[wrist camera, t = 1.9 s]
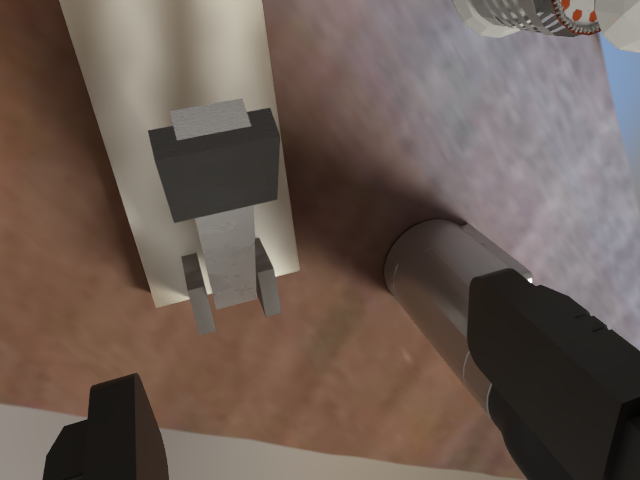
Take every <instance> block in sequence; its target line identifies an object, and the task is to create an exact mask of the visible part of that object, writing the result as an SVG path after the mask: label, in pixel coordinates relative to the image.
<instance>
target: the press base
mask: <svg viewBox="0 0 640 480" xmlns="http://www.w3.org/2000/svg"><path fill="white" fill-rule="evenodd" d="M59 2H60V5H61V8H62V11H63V15H64V18H65V21H66V24H67V27H68V30H69V34H70V37H71V40H72V43H73V46H74V49H75V53H76V56H77V59H78V62H79V65H80V68H81V72H82V75H83V78H84V81H85V84H86V87H87V91H88V94H89V97H90V100H91V103H92V106H93V110H94V113H95V116H96V119H97V122H98V125H99V129H100V132H101V135H102V138H103V141H104V144H105V147H106V151H107V154H108V157H109V160H110V163H111V166H112V170H113V173H114V176H115V179H116V182H117V185H118V189H119V192H120V195H121V198H122V201H123V204H124V208H125V211H126V214H127V217H128V220H129V223H130V227H131V230H132V233H133V236H134V239H135V242H136V246H137V249H138V252H139V255H140V258H141V261H142V265H143V268H144V271H145V274H146V277H147V280H148V284H149V287H150V290H151V293H152V296H153V299H154V303H155V306H156V308H157V307H161V306H165V305H169V304H173V303H177V302H180V301H184V300H188V299H190V302H191V305H192V309H193V313H194V316H195V320H196V324H197V327H198V331H199V334H200V335H203V334H207V333H210V332H214V331H216V329H215V325H214V321H213V316H212V312H211V308H210V304H209V300H208V296H207V294H211V293H212V290H211V286H210V281H209V277H208V273H207V268H206V264H205V260H204V256H203V251H202V247H201V243H200V239H199V234H198V230H197V226H196V222H195V219H190V220H186V221H181V222H177V223H174V221H173V218H172V215H171V212H170V208H169V205H168V202H167V199H166V196H165V192H164V189H163V186H162V183H161V180H160V176H159V173H158V170H157V167H156V164H155V160H154V156H153V151H152V147H151V143H150V138H149V134H148V130H153V129H158V128H164V127H169V126H173V124H172V119H171V115H170V111H174V110H180V109H185V108H191V107H196V106H202V105H207V104H213V103H218V102H224V101H230V100H235V99H241V98H242V99H243V102H244V105H245V108H246V111H247V112H249V111H255V110H260V109H265V108H271V111H272V114H273V117H274V120H275V122H276V125H277V128H278V131H279V134H280V127H279V120H278V112H277V105H276V98H275V91H274V84H273V77H272V70H271V63H270V56H269V49H268V41H267V34H266V27H265V20H264V13H263V6H262V0H59ZM254 231H255V265H256V293H257V295H258V298H259V300H260V303H261V305H262V308H263V311H264V313H265V316H266V317H268V316H272V315H275V314H279V313H281V307H280V302H279V296H278V290H277V284H276V278H275V277H276V276H280V275H284V274H288V273H292V272H296V271H300V269H299V262H298V255H297V247H296V240H295V233H294V226H293V219H292V212H291V205H290V198H289V191H288V184H287V176H286V169H285V162H284V155H283V148H282V141H281V134H280V153H279V174H278V195H277V200H274V201H270V202H265V203H261V204H256V205H254Z"/></svg>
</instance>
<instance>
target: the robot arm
mask: <svg viewBox="0 0 640 480" xmlns="http://www.w3.org/2000/svg"><path fill="white" fill-rule="evenodd" d="M384 278H385V283H386V285H387V287H388V289H389V291H390V292H391V293H392V294H393V296H394V297H395V299H396V300H397V302H398V303H400V305H401V306H402V307H403V308H404V310H405V311H406V312H407V314H408V315H409V316H410V318H411V319H412V320H413V321H414V323H415V324H416V325H417V326H418V328H419V329H420V330H421V331H422V333H423V334H424V335H425V336H426V338H427V339H428V340H429V342H430V343H431V344H432V345H433V347H434V348H435V349H436V350H437V352H438V353H439V354H440V355H441V357H442V358H443V359H444V361H445V362H446V363H447V364H448V366H449V367H450V368H451V369H452V371H453V372H454V373H455V374H456V376H457V377H458V378H459V379H460V381H461V382H462V383H463V385H464V386H465V387H466V388H467V390H468V391H469V392H470V393H471V394H472V396H473V397H474V398H475V400H476V401H477V402H478V403H479V405H480V406H481V407H482V408H483V410H484V411H485V412H486V413H487V415H488V416H489V417H490V419H491V420H492V421H493V422H494V423H495V425H496V426H497V427H498V429H499V430H500V431H501V433H502V435H503V439H504V442H505V445H506V447H507V449H508V451H509V453H510V455H511V457H512V458H513V460H514V461H515V463H516V464H517V466H518V467H519V469H520V470H521V471H522V473H523V474H524V475H525V477H526V478H527V479H528V480H640V351H639V350H638V349H636V348H635V347H634V346H633V345H631V344H630V343H629V342H627V341H626V340H625V339H623V338H622V337H621V336H619V335H618V334H617V333H616V332H614V331H613V330H612V329H611V330H608V328H607V326H606V325H605V324H604V323H603V322H601V321H600V320H599V319H597V318H596V317H595V316H590V314H589V312H588V311H587V310H586V309H584V308H583V307H582V306H580V305H579V304H578V303H576V302H575V301H574V300H573V299H571V298H570V297H569V296H567V295H564V294H562V293H559V292H557V291H555V290H552V289H550V288H547V287H545V286H543V285H539V286H535V285H533V274H532V273H531V271H529V270H528V269H527V268H526V267H524V266H523V265H522V264H520V263H519V262H518V261H516V260H515V259H514V258H513V257H511V256H510V255H509V254H507V253H506V252H505V251H504V250H502V249H501V248H500V247H498V246H497V245H496V244H495V243H493V242H492V241H491V240H489V239H488V238H487V237H486V236H484V235H483V234H482V233H480V232H479V231H478V230H477V229H475V228H474V227H473V226H471V225H470V224H466V225H458V224H456V223H454V222H452V221H449V220H444V219H433V220H429V221H424V222H422V223H420V224H417V225H415V226H413V227H412V228H410V229H409V230H407V231H406V232H405V233H404V234H403V235H402V236H401V237H400V238H398V240H397V241H396V242H395V244H394V245H393V246H392V248H391V250H390V252H389V254H388V256H387V258H386V262H385V266H384ZM43 480H169V475H168V465H167V458H166V453H165V448H164V444H163V440H162V436H161V433H160V430H159V427H158V425H157V422H156V419H155V416H154V414H153V411H152V408H151V406H150V403H149V400H148V397H147V395H146V392H145V389H144V386H143V384H142V381H141V379H140V377H139V375H138V374H137V373H134V374H131V375H127V376H124V377H120V378H117V379H113V380H110V381H106V382H103V383H99V384H96V385H93V386H92V387H91V389H90V397H89V409H88V419H87V420H84V421H80V422H77V423H74V424H70V425H67V426H64V427H63V429H62V431H61V432H60V434H59V436H58V437H57V439H56V441H55V443H54V444H53V446H52V447H51V449H50V451H49V453H48V454H47V456H46V462H45V468H44V474H43Z"/></svg>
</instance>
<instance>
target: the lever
mask: <svg viewBox="0 0 640 480" xmlns="http://www.w3.org/2000/svg"><path fill="white" fill-rule="evenodd" d="M170 115H171V119H172V124H173V126H169V127H164V128H158V129H153V130H148V134H149V138H150V143H151V147H152V151H153V156H154V160H155V164H156V167H157V170H158V173H159V176H160V180H161V183H162V186H163V189H164V192H165V196H166V199H167V202H168V205H169V208H170V212H171V215H172V218H173V221H174V223H177V222H181V221H186V220H190V219H195V222H196V226H197V230H198V234H199V239H200V243H201V247H202V251H203V256H204V260H205V264H206V268H207V273H208V277H209V281H210V286H211V290H212V294H213V298H214V302H215V306H216V310H217V309H220V308H224V307H228V306H231V305H235V304H239V303H243V302H246V301H250V300H254V299H256V265H255V231H254V205H256V204H261V203H265V202H270V201H274V200H277V195H278V174H279V153H280V134H279V131H278V128H277V125H276V122H275V120H274V117H273V114H272V111H271V108H265V109H260V110H255V111H249V112H247V111H246V108H245V105H244V102H243V99H242V98H241V99H235V100H230V101H224V102H218V103H213V104H207V105H202V106H196V107H191V108H185V109H180V110H174V111H170Z"/></svg>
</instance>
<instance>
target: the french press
mask: <svg viewBox="0 0 640 480" xmlns="http://www.w3.org/2000/svg"><path fill="white" fill-rule="evenodd" d="M452 1H453V3H454V5H455V7H456V10H457V12H458V14H459V16H460V18H461V20H462V22H463V23H464V24H466V25H467V26H468V27H470V28H471V29H472V30H473V31H475V32H476V33H477V34H479V35H483V36H490V37H497V38H500V37H503V36H506V35H509V34H512V33H515V32H518V31H520V30H527V31H531V32H537V33H543V34H545V35H555V36H567V37H575V36H578V35H581V34H583V35H592V34H594V33H597V32H600V31H601V32H602V35H603V36H604V37H605V38H606V39H607V40H608V41H609V42H611V43H612V44H613V45H614V46H615V47H616V48H617V49H619V50H625V51H632V52H640V0H452ZM540 12H543V13H544V14H542V15H541V16H540V17H538V14H539V13H540ZM551 13H552V14H556V15H554V16H553V17H551V18H550V19H549V20H547V21H546V22H544V23H542V22H541V20H543V19H544V18H546V17H547V16H548V15H550V14H551ZM556 19H558V21H559V22H558V23H557V24H555V25H553V26H551V27H549V28H547V29H546V28H545V26H547V25H549V24H551V23H552V22H553V21H555V20H556ZM529 22H531V23H529ZM532 25H534V26H535V27H534V28H532V27H531V26H532ZM562 25H564V26H565V27H566V28H564V29H562V30H560V31H558V32H555V33H551V32H550V31H552V30H554V29H556V28H558V27H561V26H562ZM525 28H528V29H525ZM538 29H539V30H540V31H535V30H538Z"/></svg>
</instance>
